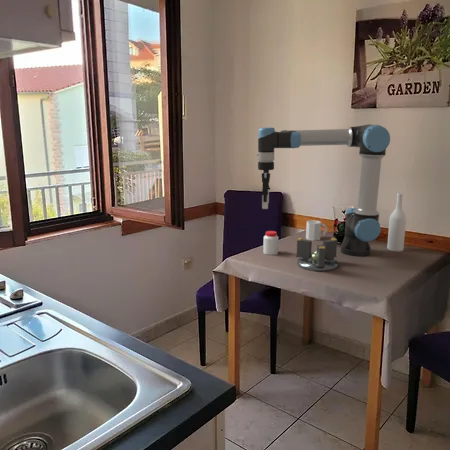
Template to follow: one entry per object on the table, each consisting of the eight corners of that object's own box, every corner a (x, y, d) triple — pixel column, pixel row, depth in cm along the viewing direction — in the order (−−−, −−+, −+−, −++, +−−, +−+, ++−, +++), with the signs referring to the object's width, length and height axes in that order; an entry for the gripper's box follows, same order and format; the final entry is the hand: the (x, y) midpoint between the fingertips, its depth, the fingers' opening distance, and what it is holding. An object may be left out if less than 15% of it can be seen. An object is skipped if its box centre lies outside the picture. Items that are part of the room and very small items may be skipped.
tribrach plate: (333, 258, 226) (334, 245, 224) (342, 271, 207) (342, 257, 206) (295, 258, 226) (295, 245, 225) (300, 271, 208) (300, 256, 206)
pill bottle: (277, 255, 232) (278, 234, 229) (262, 254, 233) (262, 233, 231) (278, 251, 239) (279, 230, 236) (264, 250, 241) (264, 230, 238)
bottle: (406, 249, 240) (411, 193, 232) (396, 252, 235) (401, 195, 228) (393, 246, 246) (398, 191, 239) (383, 248, 242) (388, 192, 235)
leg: (314, 263, 213) (315, 243, 211) (323, 263, 213) (324, 243, 210) (316, 268, 207) (317, 247, 204) (326, 268, 207) (327, 247, 204)
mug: (307, 240, 258) (307, 223, 256) (304, 236, 267) (305, 220, 264) (328, 240, 258) (329, 223, 256) (325, 236, 266) (326, 220, 264)
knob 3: (327, 261, 216) (328, 241, 214) (321, 258, 220) (321, 239, 218) (337, 259, 219) (338, 239, 217) (331, 256, 223) (332, 237, 221)
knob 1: (311, 258, 220) (312, 239, 218) (308, 261, 217) (309, 241, 214) (299, 256, 224) (300, 237, 221) (295, 258, 220) (296, 239, 218)
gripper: (259, 158, 225) (258, 200, 230) (256, 164, 201) (256, 211, 206) (274, 158, 225) (273, 201, 230) (273, 164, 200) (272, 211, 206)
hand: (265, 205), depth 218 cm, fingers open, 13 cm apart
